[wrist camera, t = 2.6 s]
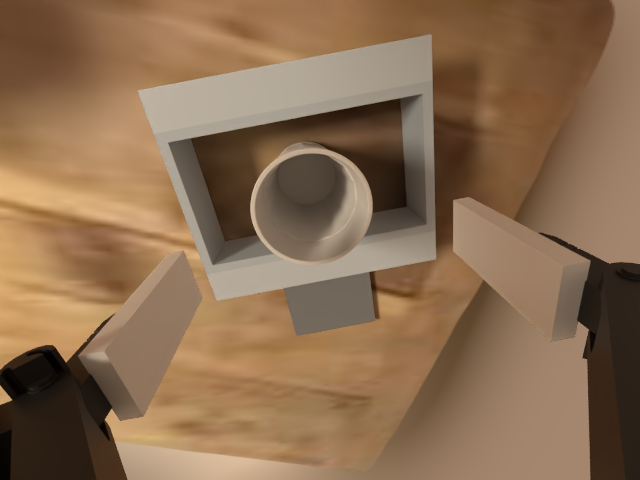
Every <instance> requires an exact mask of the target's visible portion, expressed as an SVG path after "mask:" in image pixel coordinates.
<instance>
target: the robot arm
mask: <svg viewBox="0 0 640 480" xmlns="http://www.w3.org/2000/svg"><path fill="white" fill-rule="evenodd" d="M453 251H454V252H455V253H456V254H457V255H458V256H459V257H460V258H461V259H462V260H463V261H464V262H465V263H467V264H468V265H469V266H470V267H471V268H472V269H473V270H474V271H475V272H476V273H477V274H478V275H479V276H481V277H482V278H483V279H484V280H485V281H486V282H487V283H488V284H489V285H490V286H491V287H492V288H493V289H495V290H496V291H497V292H498V293H499V294H500V295H501V296H502V297H503V298H504V299H505V300H506V301H507V302H509V303H510V304H511V305H512V306H513V307H514V308H515V309H516V310H517V311H518V312H520V314H521V315H523V316H524V317H525V318H526V319H527V320H528V321H529V322H530V323H531V324H532V325H533V326H534V327H536V328H537V329H538V330H539V331H540V332H541V333H542V334H543V335H544V336H545V337H546V338H547V339H548V340H550V341H557V340H562V339H568V338H573V337H575V334H576V328H577V324H578V321H579V322H580V323H581V324H583V325H584V326H585V327H587V328H588V329H589V332H588V336H587V340H586V345H585V349H584V353H583V358H585V359H587V363H588V400H589V438H590V476H591V480H640V264H635V263H623V262H620V263H611V264H609V263H607V262H605V261H603V260H601V259H599V258H597V257H595V256H593V255H591V254H589V253H587V252H585V251H583V250H581V249H577V247H575V246H573V245H571V244H568V243H567V242H565V241H563V240H561V239H559V238H557V237H555V236H551V235H547V234H544V233H536V232H535V231H533V230H531V229H529V228H527V227H525V226H523V225H521V224H519V223H518V222H516V221H514V220H512V219H510V218H508V217H506V216H504V215H502V214H501V213H499V212H497V211H495V210H493V209H491V208H489V207H487V206H485V205H483V204H482V203H480V202H478V201H476V200H474V199H472V198H470V197H466V198H461V199H456V200H453ZM201 300H202V296H201V293H200V290H199V288H198V285H197V283H196V280H195V278H194V275H193V273H192V270H191V268H190V265H189V263H188V260H187V258H186V255H185V253H184V251H179V252H174V253H168V254H167V255H166V257H165V258H164V259H163V260H162V261H161V262H160V263H159V265H158V266H157V267H156V268H155V269H154V270H153V271H152V272H151V274H150V275H149V276H148V277H147V278H146V279H145V280H144V282H143V283H142V284H141V285H140V286H139V287H138V288H137V289H136V291H135V292H134V293H133V294H132V295H131V296H130V297H129V299H128V300H127V301H126V302H125V303H124V304H123V305H122V307H121V308H120V309H119V310H118V311H117V312H116V313H115V314H113V315H112V316H111V317H109V318H108V319H107V320H105V321H104V322H103V323H102V324H101V325H100V326H99V327H98V328H97V329H96V330H95V331H94V334H92V335H91V336H90V337H89V338H88V339H87V342H85V343H84V344H83V345H82V346H81V347H80V348H79V349H78V350H77V351H76V353H75V354H74V355H73V356H72V357H71V358H70V359H69V360H68V361H67V362H65V361H64V359H63V358H62V357H61V355H60V354H59V352H58V351H57V349H56V348H55V347H54V346H53V345H45V346H41V347H37V348H35V349H32V350H30V351H27V352H25V353H23V354H22V355H20V356H18V357H16V358H15V359H13V360H12V361H10V362H9V363H8V364H6V365H5V366H4V367H3V368H2V369H1V370H0V385H1V387H2V388H3V389H4V390H5V391H6V393H7V394H8V395H9V396H10V397H11V399H12V401H10V402H7V403H4V404H2V405H0V480H127V477H126V474H125V471H124V468H123V465H122V462H121V459H120V457H119V453H118V450H117V447H116V444H115V441H114V438H113V435H112V432H111V429H110V427H109V425H108V424H107V422H106V421H105V418H106V416H107V415H108V413H109V412H110V410H111V408H112V409H113V411H114V412H115V414H116V415H117V417H118V418H119V420H120V421H122V420H127V419H133V418H138V417H143V416H144V415H145V413H146V411H147V408H148V406H149V404H150V402H151V400H152V398H153V396H154V394H155V392H156V390H157V388H158V386H159V384H160V382H161V380H162V378H163V376H164V374H165V372H166V370H167V368H168V366H169V364H170V362H171V360H172V358H173V356H174V354H175V352H176V350H177V348H178V346H179V344H180V342H181V340H182V338H183V336H184V334H185V332H186V330H187V328H188V326H189V324H190V322H191V320H192V318H193V316H194V314H195V312H196V310H197V308H198V306H199V304H200V302H201Z"/></svg>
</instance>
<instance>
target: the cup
mask: <svg viewBox="0 0 640 480" xmlns="http://www.w3.org/2000/svg"><path fill="white" fill-rule="evenodd" d="M250 210H251V218H252V222H253V226H254V228H255V231H256V233H257V235H258V236H259V238H260V239H261V241H262V242H263V243H264V245H265V246H266V247H267V248H268V249H269V250H270V251H272V252H273V253H274V254H276V255H277V256H279V257H281V258H283V259H285V260H287V261H289V262H293V263H296V264H302V265H320V264H325V263H329V262H332V261H335V260H337V259H339V258H341V257H343V256H345V255H346V254H348V253H349V252H350V251H351V250H353V249H354V248H355V247H356V246H357V245H358V244H359V242H360V241H361V240H362V238H363V237H364V235H365V234H366V232H367V230H368V227H369V225H370V222H371V217H372V211H373V201H372V194H371V190H370V187H369V184H368V182H367V180H366V178H365V177H364V175H363V174H362V172H361V171H360V170H359V168H358V167H357V166H356V165H355V164H354V163H352V162H351V161H350V160H349V159H347V158H346V157H344V156H342V155H340V154H338V153H336V152H333V151H330V150H328V149H326V148H325V147H324V146H322V145H320V144H318V143H315V142H312V141H300V142H296V143H294V144H291V145H290V146H288V147H287V148H286V149H284V150H283V151H282V153H281V154H280V155H279V157H278V158H277V159H276V160H274V161H273V162H272V163H271V164H270V165H269V166H268V167H267V168H266V169H265V170H264V171H263V172H262V174H261V175H260V177H259V178H258V180H257V182H256V184H255V186H254V189H253V192H252V197H251V205H250Z"/></svg>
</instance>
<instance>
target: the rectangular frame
mask: <svg viewBox="0 0 640 480" xmlns="http://www.w3.org/2000/svg"><path fill="white" fill-rule="evenodd" d="M137 91H138V94H139V97H140V99H141V102H142V105H143V107H144V110H145V113H146V115H147V118H148V120H149V123H150V126H151V128H152V131H153V134H154V136H155V139H156V142H157V144H158V147H159V149H160V152H161V155H162V157H163V160H164V163H165V165H166V168H167V171H168V173H169V176H170V179H171V181H172V184H173V186H174V189H175V192H176V194H177V197H178V200H179V202H180V205H181V208H182V210H183V213H184V216H185V218H186V221H187V223H188V226H189V229H190V231H191V234H192V237H193V239H194V242H195V245H196V247H197V250H198V252H199V255H200V258H201V260H202V263H203V266H204V268H205V271H206V274H207V276H208V279H209V282H210V284H211V287H212V289H213V292H214V295H215V297H216V300H217V301H219V300H224V299H230V298H235V297H240V296H245V295H251V294H256V293H261V292H266V291H272V290H277V289H282V288H287V287H293V286H298V285H303V284H308V283H314V282H319V281H324V280H329V279H335V278H340V277H345V276H350V275H356V274H361V273H366V272H371V271H377V270H382V269H387V268H392V267H398V266H403V265H408V264H413V263H418V262H424V261H429V260H434V259H436V228H435V177H434V126H433V75H432V34H430V35H424V36H419V37H414V38H409V39H404V40H398V41H393V42H388V43H383V44H378V45H372V46H367V47H362V48H357V49H351V50H346V51H341V52H336V53H331V54H325V55H320V56H315V57H310V58H304V59H299V60H294V61H289V62H284V63H278V64H273V65H268V66H263V67H257V68H252V69H247V70H242V71H237V72H231V73H226V74H221V75H216V76H210V77H205V78H200V79H195V80H190V81H184V82H179V83H174V84H169V85H164V86H158V87H153V88H148V89H143V90H137ZM398 98H400V100H401V117H402V134H403V150H404V167H405V184H406V201H407V207H402V208H396V209H391V210H386V211H381V212H376V213H372V217H371V222H370V225H369V227H368V230H367V232H366V234H365V235H364V237H363V238H362V240H361V241H360V242H359V244H358V245H357V246H356V247H355V248H354V249H353V250H351V251H350V252H349V253H348V254H346V255H345V256H343V257H341V258H339V259H337V260H335V261H332V262H329V263H325V264H320V265H302V264H296V263H293V262H289V261H287V260H285V259H283V258H281V257H279V256H277V255H276V254H274V253H273V252H272V251H270V250H269V249H268V248H267V247H266V246H265V245H264V243H263V242H262V241H261V239H260V238H259V236H258V235H255V236H250V237H245V238H239V239H234V240H229V241H225V240H224V237H223V234H222V231H221V228H220V225H219V222H218V219H217V216H216V213H215V210H214V207H213V204H212V201H211V198H210V195H209V192H208V189H207V186H206V183H205V180H204V177H203V174H202V171H201V168H200V165H199V162H198V159H197V156H196V153H195V150H194V147H193V144H192V141H191V138H194V137H199V136H205V135H210V134H215V133H220V132H226V131H231V130H236V129H241V128H246V127H252V126H257V125H262V124H267V123H273V122H278V121H283V120H288V119H293V118H299V117H304V116H309V115H314V114H320V113H325V112H330V111H335V110H341V109H346V108H351V107H356V106H361V105H367V104H372V103H377V102H382V101H388V100H393V99H398Z"/></svg>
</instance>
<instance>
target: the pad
mask: <svg viewBox="0 0 640 480" xmlns="http://www.w3.org/2000/svg"><path fill="white" fill-rule="evenodd" d="M284 290H285V293H286V297H287V301H288V305H289V309H290V312H291V316H292V320H293V324H294V328H295V331H296V335H297V336H299V335H304V334H310V333H315V332H320V331H325V330H331V329H336V328H341V327H346V326H352V325H357V324H362V323H367V322H373V321H375V314H374V306H373V298H372V290H371V282H370V274H369V272H366V273H361V274H356V275H350V276H345V277H340V278H335V279H329V280H324V281H319V282H314V283H308V284H303V285H298V286H293V287H287V288H284Z"/></svg>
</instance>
